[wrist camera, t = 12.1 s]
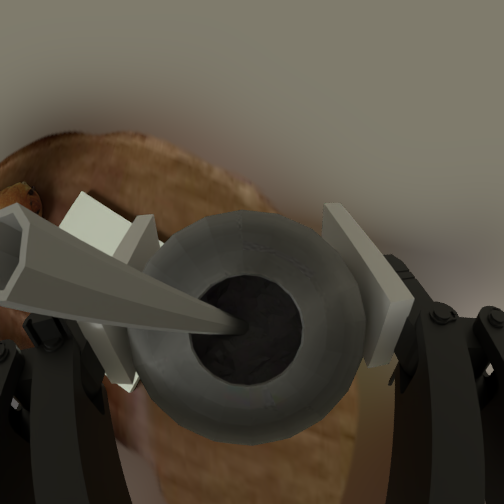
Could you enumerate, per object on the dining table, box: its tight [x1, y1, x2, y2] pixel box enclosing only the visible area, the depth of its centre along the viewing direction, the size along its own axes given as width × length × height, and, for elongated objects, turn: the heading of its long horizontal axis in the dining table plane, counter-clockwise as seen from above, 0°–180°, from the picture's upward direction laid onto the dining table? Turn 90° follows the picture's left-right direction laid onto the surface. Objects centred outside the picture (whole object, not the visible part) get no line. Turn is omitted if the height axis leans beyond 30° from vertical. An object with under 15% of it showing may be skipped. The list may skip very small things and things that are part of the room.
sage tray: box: [59, 192, 164, 393], centre depth 29 cm, size 18×15×1 cm
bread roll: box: [0, 182, 43, 217], centre depth 29 cm, size 10×10×8 cm
